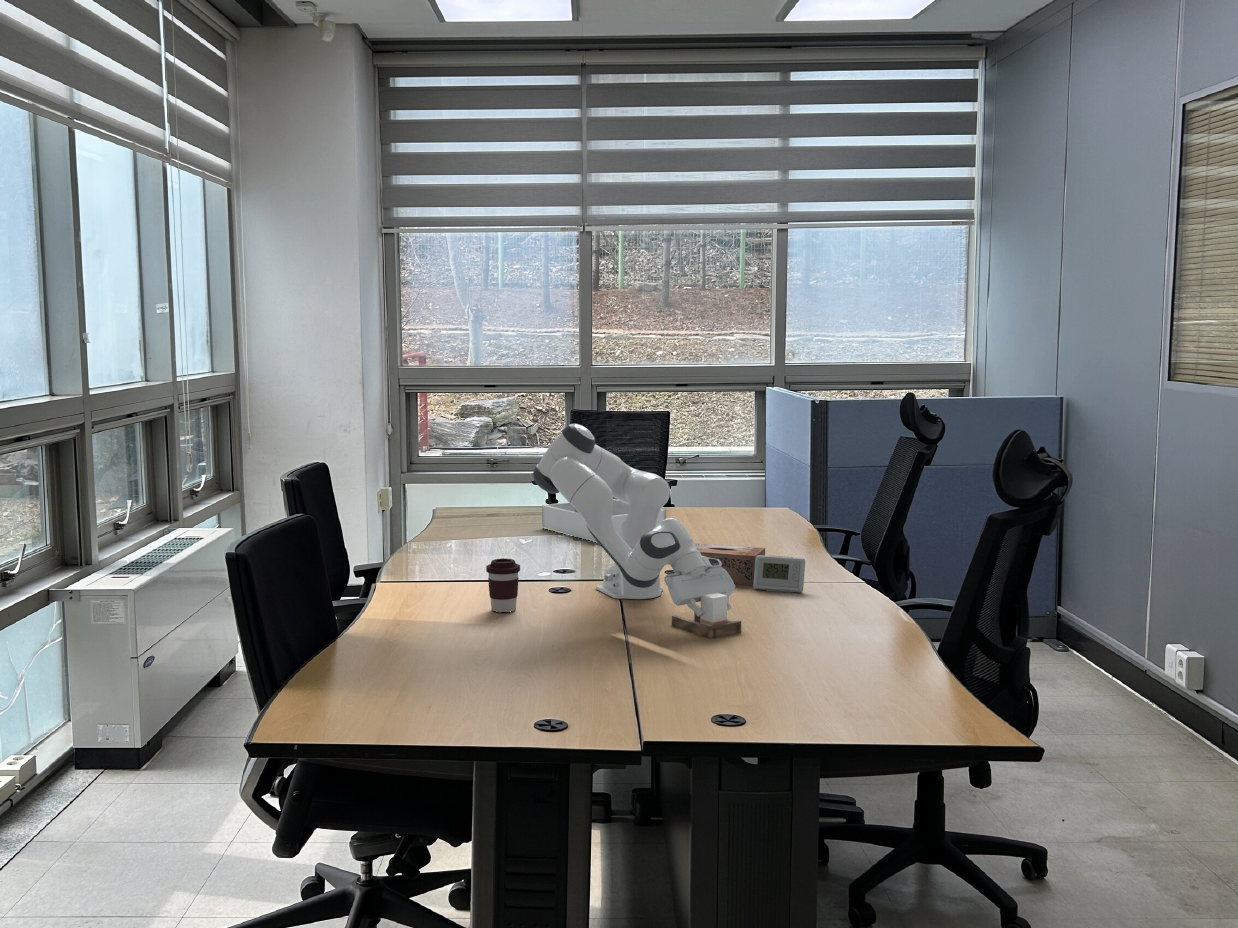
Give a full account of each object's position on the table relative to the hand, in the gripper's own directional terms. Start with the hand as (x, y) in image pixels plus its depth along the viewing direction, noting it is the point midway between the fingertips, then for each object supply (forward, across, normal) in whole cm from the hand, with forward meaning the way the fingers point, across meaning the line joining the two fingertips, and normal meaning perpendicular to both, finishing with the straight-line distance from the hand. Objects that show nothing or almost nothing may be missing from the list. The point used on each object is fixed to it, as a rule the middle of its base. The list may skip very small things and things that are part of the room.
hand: (714, 612), depth 291 cm
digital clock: (-15, +53, +26) cm, 61 cm away
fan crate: (-98, +68, +108) cm, 161 cm away
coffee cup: (-36, -31, +46) cm, 67 cm away
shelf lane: (+2, 0, +8) cm, 8 cm away
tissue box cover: (-32, +50, +43) cm, 73 cm away
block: (+3, 0, +4) cm, 5 cm away
